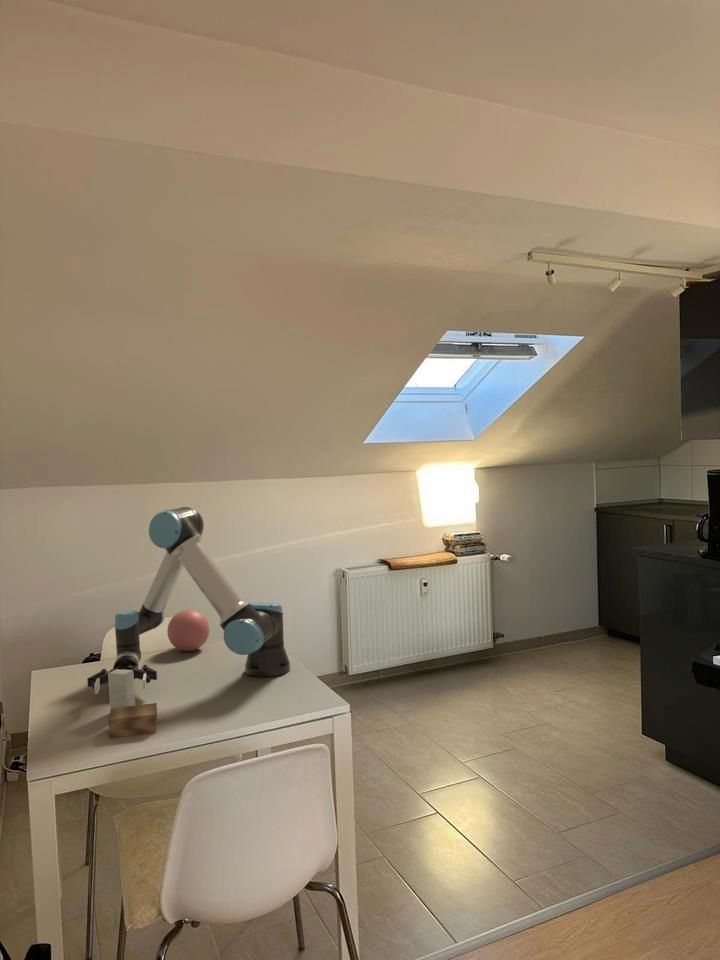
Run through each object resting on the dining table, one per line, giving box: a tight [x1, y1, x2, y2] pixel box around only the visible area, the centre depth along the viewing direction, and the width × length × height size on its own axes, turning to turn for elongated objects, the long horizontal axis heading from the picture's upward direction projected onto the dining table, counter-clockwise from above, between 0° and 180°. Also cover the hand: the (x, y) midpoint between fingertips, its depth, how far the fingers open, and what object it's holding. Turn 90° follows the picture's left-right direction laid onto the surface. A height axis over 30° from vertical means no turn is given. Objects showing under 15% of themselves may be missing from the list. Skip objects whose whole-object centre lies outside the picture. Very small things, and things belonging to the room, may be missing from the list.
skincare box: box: [107, 669, 136, 713], centre depth 211 cm, size 6×4×12 cm
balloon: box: [166, 609, 210, 652], centre depth 276 cm, size 15×20×15 cm
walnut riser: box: [108, 702, 158, 739], centre depth 198 cm, size 12×9×5 cm
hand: (120, 687), depth 214 cm, fingers open, 13 cm apart
